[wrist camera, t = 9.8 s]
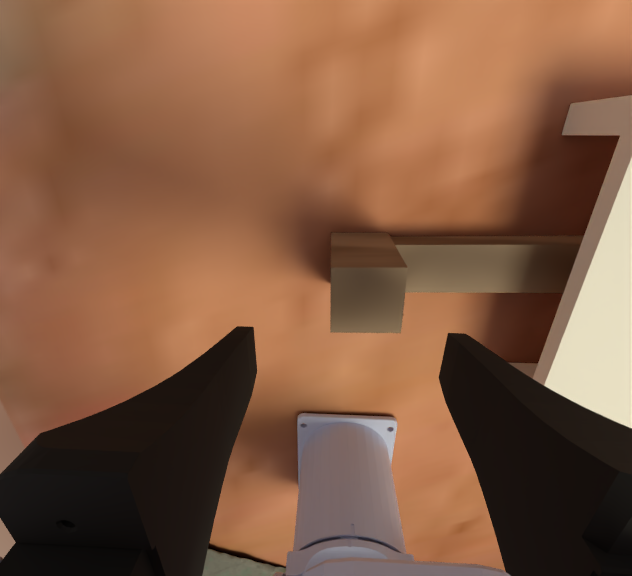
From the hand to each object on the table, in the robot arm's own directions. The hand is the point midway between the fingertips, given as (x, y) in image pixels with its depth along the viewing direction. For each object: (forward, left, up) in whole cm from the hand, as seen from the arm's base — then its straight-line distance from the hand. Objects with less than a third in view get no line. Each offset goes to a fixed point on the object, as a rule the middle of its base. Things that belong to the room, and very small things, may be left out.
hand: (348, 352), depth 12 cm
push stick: (0, -8, -10) cm, 13 cm away
